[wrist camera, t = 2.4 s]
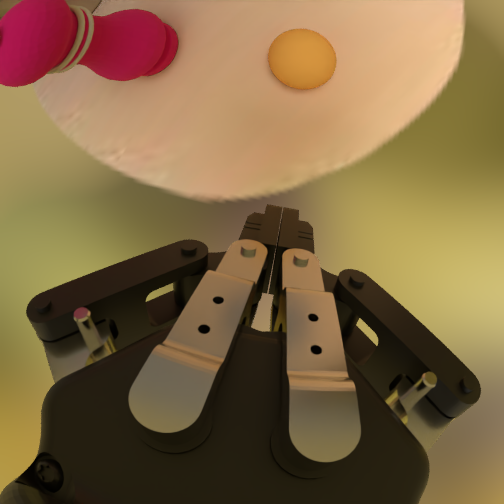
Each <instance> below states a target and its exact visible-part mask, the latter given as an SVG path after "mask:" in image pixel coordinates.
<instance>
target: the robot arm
mask: <svg viewBox="0 0 504 504" xmlns="http://www.w3.org/2000/svg"><path fill="white" fill-rule="evenodd" d="M21 1H23V0H0V20H1V19H2V17H3V16H4V15H5V14H6V13H7V12H8V11H9V10H10V9H11V8H12V7H13V6H15V5H16V4H18V3H19V2H21ZM65 1H66V3H67V4H68V5H75V6H82V7H85V8H87V9H88V10H89V11H90V12H91V13H92V12H93V11H94V9H95V8H96V7H97V5H98V4H99V2H100V1H101V0H65ZM281 212H282V207H279V206H273V205H267V207H266V211H265V214H261V213H255V212H254V213H253V214H251V215H249V216H248V218H247V220H246V223H245V225H244V228H243V230H242V233H241V235H240V238H239V240H238V241H235V242H233V243H232V244H231V246H230V247H229V249H228V251H226V252H220V253H219V252H218V253H208V247H207V246H206V245H205V244H204V243H202V242H200V241H197V240H183V241H178V242H176V243H173V244H170V245H167V246H164V247H161V248H158V249H155V250H153V251H150V252H147V253H144V254H141V255H139V256H136V257H133V258H131V259H128V260H125V261H122V262H119V263H117V264H114V265H111V266H109V267H106V268H104V269H101V270H98V271H95V272H93V273H90V274H88V275H85V276H82V277H80V278H77V279H75V280H72V281H70V282H67V283H64V284H62V285H59V286H57V287H54V288H52V289H50V290H47V291H45V292H42V293H40V294H38V295H36V296H35V297H34V298H33V299H32V300H31V301H30V302H29V304H28V306H27V310H26V313H27V317H28V318H29V321H30V322H31V324H32V326H33V327H34V329H35V331H36V334H37V336H38V338H39V340H40V341H41V343H42V344H43V346H44V348H45V352H46V356H47V359H48V363H49V366H50V370H51V372H52V376H53V379H54V382H55V384H54V385H53V386H52V387H51V388H50V390H49V391H48V393H47V394H46V397H45V399H44V402H43V405H42V410H41V439H40V445H39V450H38V454H37V457H36V459H35V460H34V462H33V463H32V464H31V465H30V467H29V468H28V469H27V470H26V471H25V472H24V473H22V474H21V475H20V476H19V477H18V478H16V479H15V480H14V481H12V482H11V483H10V484H9V485H7V486H6V487H5V488H4V490H3V491H2V493H1V495H0V504H418V503H419V501H420V498H421V496H422V494H423V492H424V490H425V487H426V485H427V481H428V478H429V460H428V456H427V454H426V453H427V452H428V451H429V449H430V448H431V447H432V446H433V444H434V443H435V442H436V441H437V439H438V438H439V437H440V436H441V434H442V433H443V432H444V430H445V429H446V428H447V426H448V425H449V424H450V422H452V421H453V420H454V419H456V418H457V417H458V416H460V415H461V414H462V413H463V412H465V411H466V410H467V409H468V408H470V407H471V406H472V405H473V404H474V403H476V402H477V401H478V399H479V397H480V393H481V388H480V384H479V381H478V379H477V378H476V376H475V375H474V374H473V373H472V372H471V371H470V370H469V369H468V368H467V367H466V366H465V365H464V364H463V363H462V362H461V361H460V360H459V359H458V358H457V357H456V356H455V355H454V354H453V353H452V352H451V351H450V350H449V349H448V348H447V347H446V346H445V345H444V344H443V343H442V342H441V341H440V340H439V339H438V338H437V337H436V336H435V335H434V334H433V333H431V332H430V331H429V330H428V329H427V328H426V327H425V326H424V325H423V324H422V323H421V322H420V321H419V320H417V319H416V318H415V317H414V316H413V315H412V314H411V313H410V312H409V311H408V310H406V309H405V308H404V307H403V306H402V305H401V304H400V303H398V302H397V301H396V300H395V299H394V298H393V297H392V296H391V295H389V294H388V293H387V292H386V291H385V290H384V289H383V288H381V287H380V286H379V285H378V284H377V283H376V282H374V281H373V280H372V279H371V278H370V277H369V276H367V275H366V274H364V273H363V272H360V271H358V270H353V269H346V270H343V271H342V272H340V273H339V276H336V275H333V274H331V273H329V272H327V271H325V270H323V269H322V268H321V267H320V263H319V260H318V258H317V257H316V256H315V255H314V240H313V228H312V226H311V225H310V224H309V223H308V222H305V221H299V220H298V219H299V210H296V209H290V208H283V213H282V219H281V224H280V218H281ZM279 225H280V230H279ZM278 231H279V235H278ZM277 237H278V241H277ZM276 244H277V246H276ZM275 249H276V252H275ZM274 253H275V258H274ZM273 260H274V264H273ZM272 264H273V270H272ZM271 270H272V276H271V282H270V288H269V294H273V295H274V296H273V301H272V306H271V314H270V332H262V331H258V330H255V329H253V328H251V326H252V323H253V320H254V317H255V314H256V311H257V307H258V303H259V301H260V299H261V296H262V293H267V290H268V285H269V280H270V275H271ZM171 283H173V288H174V290H173V291H170V292H168V293H166V294H164V295H161V296H159V297H157V298H155V299H152V300H150V301H147V302H146V298H147V296H148V295H149V293H151V292H152V291H154V290H157V289H159V288H161V287H164V286H166V285H168V284H171ZM359 318H361V319H362V320H363V321H364V322H365V323H366V324H367V325H368V326H369V327H370V328H371V329H372V330H373V331H374V332H375V333H376V335H377V337H378V346H376V345H375V344H374V343H373V342H372V341H371V340H370V339H369V338H368V337H367V336H366V335H365V334H364V333H363V332H362V331H361V330H360V329H359V328H358V327H357V326H356V324H357V322H358V320H359Z"/></svg>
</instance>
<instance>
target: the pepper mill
mask: <svg viewBox="0 0 504 504" xmlns="http://www.w3.org/2000/svg"><path fill="white" fill-rule="evenodd" d="M177 47H178V38H177V35H176V32H175V31H174V29H173V28H172V27H170V26H169V25H168V24H165V23H163V22H162V21H161V19H159V18H158V17H157V16H156V15H155V14H153V13H151V12H148V11H144V10H139V9H130V10H123V11H119V12H115V13H113V14H110V15H107V16H102V17H101V16H94V15H92V13H91V12H90V11H89V10H88V9H87V8H85V7H82V6H75V5H68V4H67V3H66V1H65V0H23V1H21V2H19V3H18V4H16V5H15V6H13V7H12V8H11V9H10V10H9V11H8V12H7V13H6V14H5V15H4V16H3V17H2V19H1V20H0V84H2V85H5V86H12V87H18V86H24V85H28V84H31V83H34V82H35V81H37V80H38V79H40V78H42V77H43V76H45V75H46V74H53V73H62V72H65V71H67V70H69V69H71V68H72V67H74V66H75V65H76V64H81V65H85V66H87V67H88V68H90V69H91V70H93V71H94V72H95V73H96V74H98V75H100V76H102V77H105V78H107V79H110V80H118V81H127V80H132V79H135V78H138V77H140V76H150V75H153V74H156V73H158V72H160V71H162V70H163V69H165V68H166V67H167V66H168V65H169V64H170V63H171V61H172V60H173V58H174V56H175V54H176V51H177Z"/></svg>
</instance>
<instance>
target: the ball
mask: <svg viewBox="0 0 504 504" xmlns="http://www.w3.org/2000/svg"><path fill="white" fill-rule="evenodd" d="M268 61H269V65H270V68H271V70H272V72H273V74H274V75H275V76H276V77H277V78H278V79H279V80H280V81H281V82H283V83H284V84H286V85H288V86H290V87H293V88H297V89H312V88H316V87H319V86H321V85H323V84H324V83H326V82H327V81H328V80H329V79H330V78H331V76H332V75H333V73H334V71H335V68H336V54H335V51H334V49H333V47H332V45H331V44H330V43H329V41H328V40H327V39H326V38H324V37H323V36H322V35H320V34H319V33H316V32H314V31H311V30H307V29H293V30H289V31H286V32H284V33H282V34H281V35H279V36H278V37H277V38H276V39H275V40H274V41H273V43H272V44H271V46H270V49H269V53H268Z"/></svg>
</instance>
